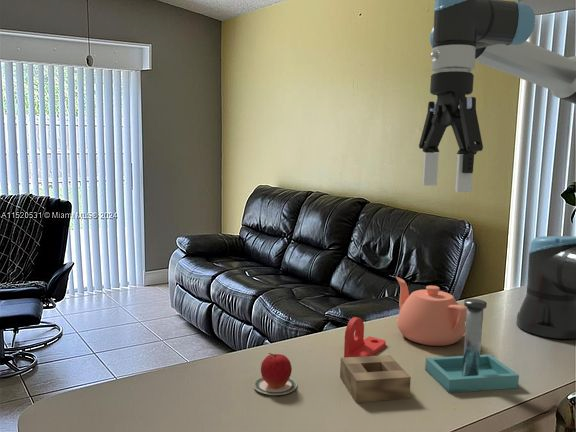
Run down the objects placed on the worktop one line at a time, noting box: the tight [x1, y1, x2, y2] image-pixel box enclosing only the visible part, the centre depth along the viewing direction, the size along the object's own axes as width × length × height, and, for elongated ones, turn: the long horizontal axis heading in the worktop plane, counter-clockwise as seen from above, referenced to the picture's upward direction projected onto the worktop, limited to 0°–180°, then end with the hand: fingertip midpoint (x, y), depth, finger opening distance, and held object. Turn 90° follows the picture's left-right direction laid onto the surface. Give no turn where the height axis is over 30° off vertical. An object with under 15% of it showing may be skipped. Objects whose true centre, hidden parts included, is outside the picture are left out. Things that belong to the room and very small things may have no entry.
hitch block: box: [339, 354, 412, 403], centre depth 100 cm, size 10×10×4 cm
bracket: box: [343, 316, 387, 358], centre depth 117 cm, size 12×4×8 cm, turn 146°
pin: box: [462, 298, 488, 376], centre depth 103 cm, size 4×4×15 cm
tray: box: [424, 354, 520, 394], centre depth 104 cm, size 14×10×2 cm
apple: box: [253, 352, 298, 396], centre depth 99 cm, size 8×8×6 cm
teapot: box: [395, 276, 467, 347], centre depth 126 cm, size 22×15×12 cm
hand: (445, 188), depth 101 cm, fingers open, 13 cm apart
